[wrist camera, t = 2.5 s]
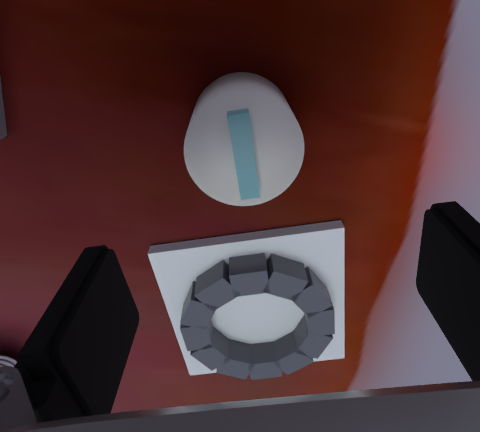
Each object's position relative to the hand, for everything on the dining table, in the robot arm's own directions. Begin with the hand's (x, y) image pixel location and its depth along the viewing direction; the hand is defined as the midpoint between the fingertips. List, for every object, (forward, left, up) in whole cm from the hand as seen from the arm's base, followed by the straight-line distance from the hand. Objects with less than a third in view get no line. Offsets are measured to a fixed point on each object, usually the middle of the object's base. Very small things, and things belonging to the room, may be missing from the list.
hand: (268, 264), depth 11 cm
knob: (0, 0, -13) cm, 13 cm away
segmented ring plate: (+15, -1, -13) cm, 20 cm away
